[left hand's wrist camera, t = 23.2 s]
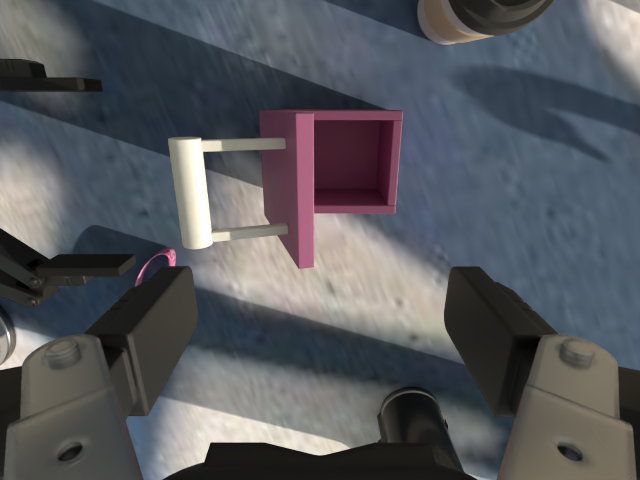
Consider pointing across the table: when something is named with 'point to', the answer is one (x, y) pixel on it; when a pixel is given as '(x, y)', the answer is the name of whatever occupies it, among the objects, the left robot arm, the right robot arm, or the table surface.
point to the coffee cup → (476, 18)
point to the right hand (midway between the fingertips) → (111, 182)
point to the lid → (278, 184)
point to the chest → (355, 159)
